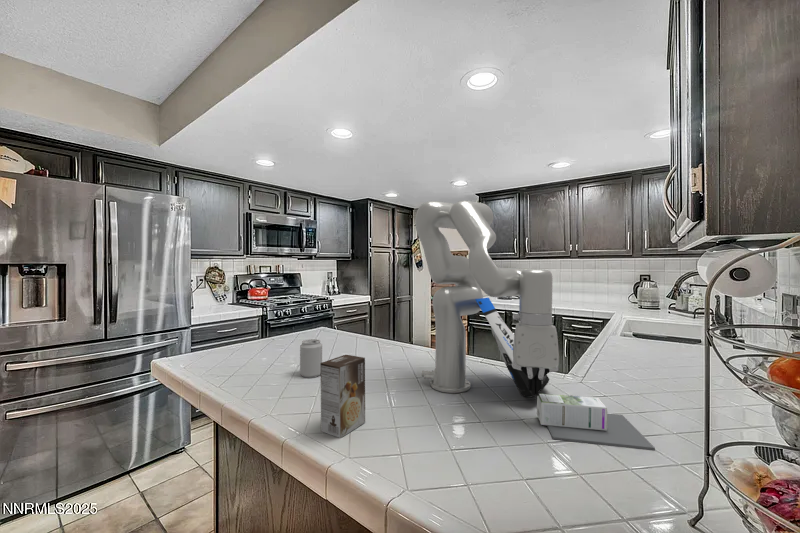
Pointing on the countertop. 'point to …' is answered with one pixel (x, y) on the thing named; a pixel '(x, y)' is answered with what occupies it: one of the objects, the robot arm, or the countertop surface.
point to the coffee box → (342, 394)
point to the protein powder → (507, 346)
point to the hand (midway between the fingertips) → (534, 393)
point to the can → (310, 358)
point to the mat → (605, 434)
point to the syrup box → (572, 411)
